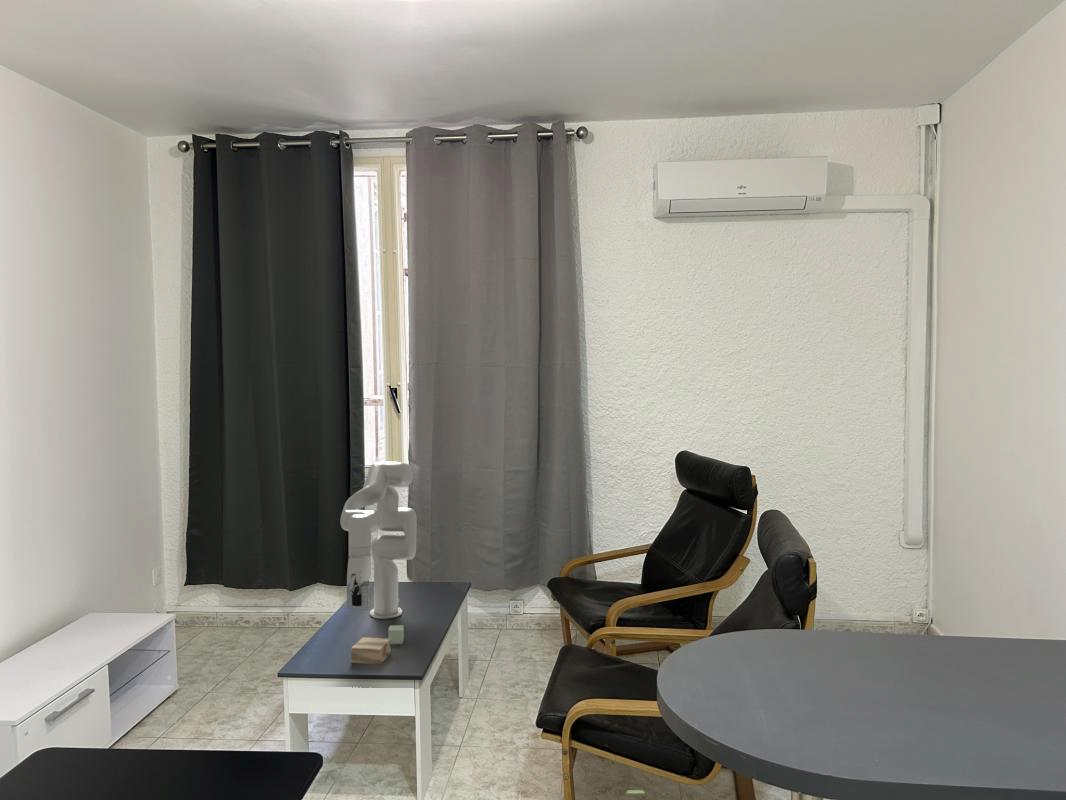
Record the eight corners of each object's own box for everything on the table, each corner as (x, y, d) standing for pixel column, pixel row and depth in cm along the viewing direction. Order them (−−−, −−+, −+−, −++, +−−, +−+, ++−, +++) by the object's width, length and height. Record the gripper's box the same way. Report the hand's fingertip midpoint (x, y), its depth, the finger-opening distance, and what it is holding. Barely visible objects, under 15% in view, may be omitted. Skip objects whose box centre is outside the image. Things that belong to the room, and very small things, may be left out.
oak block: (363, 651, 259) (363, 637, 259) (390, 653, 258) (390, 639, 258) (351, 662, 250) (351, 647, 249) (379, 664, 248) (379, 650, 248)
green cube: (389, 639, 271) (389, 625, 271) (403, 638, 272) (403, 625, 271) (388, 644, 266) (388, 630, 266) (402, 643, 267) (402, 630, 266)
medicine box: (373, 606, 258) (373, 581, 258) (368, 610, 254) (368, 585, 254) (351, 605, 260) (351, 580, 259) (346, 609, 255) (346, 584, 255)
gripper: (360, 544, 265) (360, 595, 266) (338, 556, 248) (338, 610, 249) (380, 545, 263) (380, 596, 264) (359, 557, 247) (359, 611, 248)
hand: (360, 602), depth 257 cm, fingers closed on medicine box, 4 cm apart
